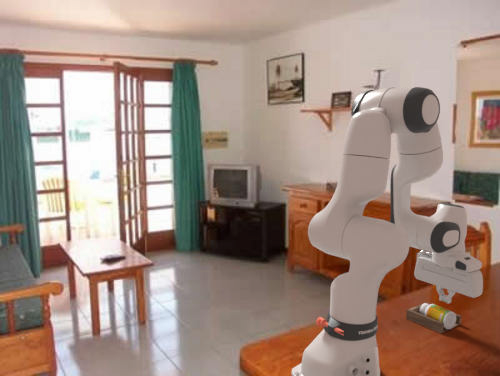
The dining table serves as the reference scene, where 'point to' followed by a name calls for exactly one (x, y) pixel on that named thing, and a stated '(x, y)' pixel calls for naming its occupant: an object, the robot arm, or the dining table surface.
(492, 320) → the dining table surface
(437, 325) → the tray
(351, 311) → the robot arm
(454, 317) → the supplement bottle
